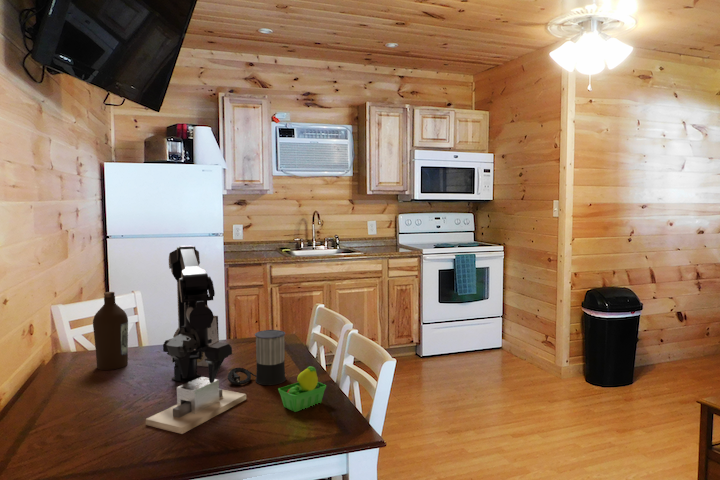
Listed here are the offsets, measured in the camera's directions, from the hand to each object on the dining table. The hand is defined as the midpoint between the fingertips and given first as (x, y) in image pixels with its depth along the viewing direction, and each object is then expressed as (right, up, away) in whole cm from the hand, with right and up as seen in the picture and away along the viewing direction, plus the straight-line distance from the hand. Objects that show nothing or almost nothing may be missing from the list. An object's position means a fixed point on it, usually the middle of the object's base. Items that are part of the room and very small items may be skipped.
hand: (198, 380), depth 137 cm
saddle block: (0, -7, +1) cm, 7 cm away
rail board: (0, -8, +1) cm, 9 cm away
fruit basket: (+27, -8, +4) cm, 29 cm away
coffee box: (-11, -6, +42) cm, 44 cm away
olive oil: (-41, -6, +40) cm, 57 cm away
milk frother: (+11, -7, +23) cm, 27 cm away
